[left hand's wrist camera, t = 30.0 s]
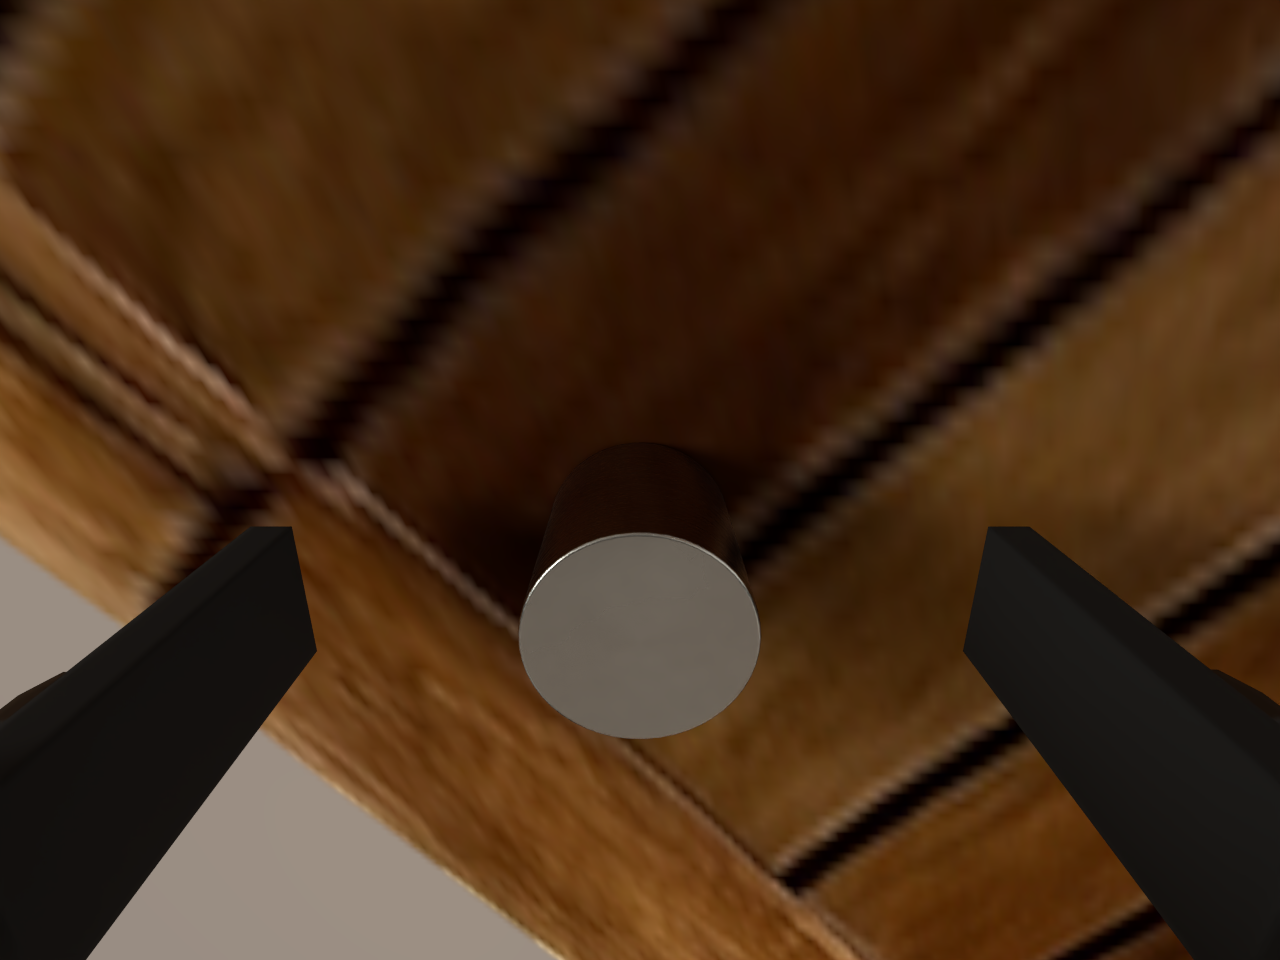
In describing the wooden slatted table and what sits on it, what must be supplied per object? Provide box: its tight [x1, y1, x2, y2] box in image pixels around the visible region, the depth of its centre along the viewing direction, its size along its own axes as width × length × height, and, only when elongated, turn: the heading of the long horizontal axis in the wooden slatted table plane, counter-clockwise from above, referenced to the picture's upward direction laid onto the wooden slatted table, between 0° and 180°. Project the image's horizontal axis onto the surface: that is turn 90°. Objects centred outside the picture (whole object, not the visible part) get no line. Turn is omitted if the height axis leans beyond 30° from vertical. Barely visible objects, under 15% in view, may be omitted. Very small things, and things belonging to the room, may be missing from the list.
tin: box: [518, 443, 761, 739], centre depth 13 cm, size 4×4×4 cm
